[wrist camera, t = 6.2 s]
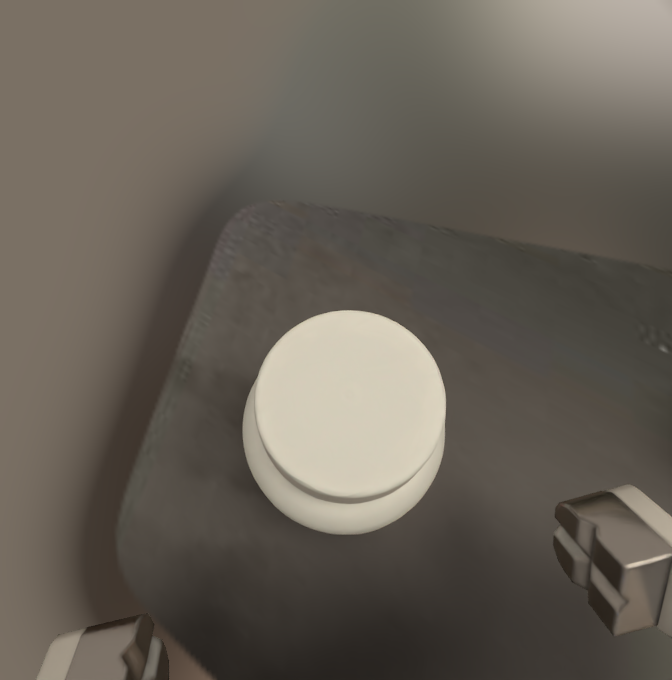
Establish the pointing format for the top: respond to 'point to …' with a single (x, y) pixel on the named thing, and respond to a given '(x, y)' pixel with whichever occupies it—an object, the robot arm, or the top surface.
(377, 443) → the pill bottle
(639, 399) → the top surface
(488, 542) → the top surface
